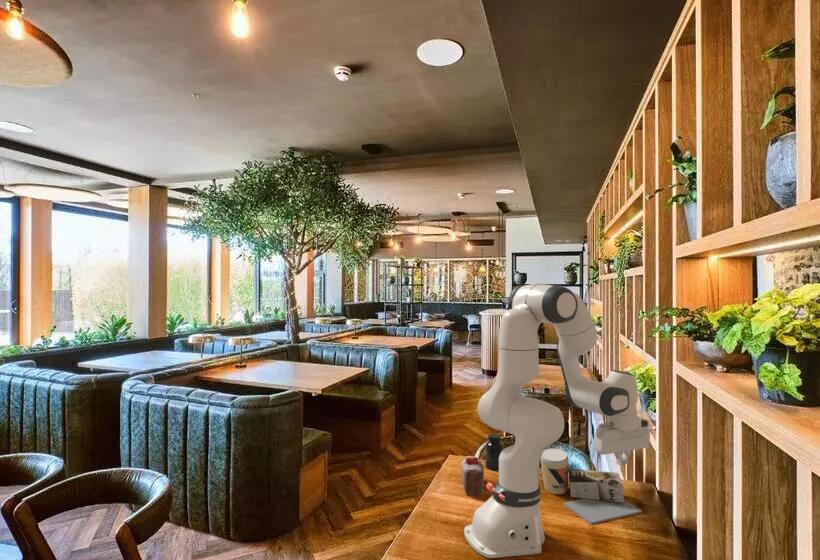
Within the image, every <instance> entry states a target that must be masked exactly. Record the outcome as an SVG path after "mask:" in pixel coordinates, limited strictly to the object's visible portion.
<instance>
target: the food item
mask: <svg viewBox="0 0 820 560" xmlns="http://www.w3.org/2000/svg"><path fill="white" fill-rule="evenodd" d="M460 472H461V481H462V485H463V488H464V492H465V494H466V495H469V496H470V495H471V496H473V495H474V496H475V495H477V496H482V495H483V494H484V486H485V485H484V483H485V482H484V481H485V480H484V479H485V478H484V476H485V475H484V474H485V469H484V463H483V461H481V459H480V458H479V457H476V456H473V455H466V456H462V459H461V471H460Z"/></svg>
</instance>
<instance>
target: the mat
mask: <svg viewBox="0 0 820 560" xmlns="http://www.w3.org/2000/svg"><path fill="white" fill-rule="evenodd" d="M562 505H563V506H565V507H566V508H567V509H568V510H570V511H571V512H572V513H574V514H575V515H577V516H578V517H580V518H581V519H582V520H584V521H585V522H587V523H588V524H589V525H595V524H599V523H603V522H604V523H605V522H608V521H613V520H616V519H621V518H624V517H628V516H633V515H636V514H637V515H638V514H642V513H643V510H642V509H640V508H638V507H637V506H635V505H633V504H632V503H630V502H628V501H627V500H625V499H624V502H623V503H622V502H614V501H605V500H595V499H586V498H578V499H575V500H570V501H564V502H562Z"/></svg>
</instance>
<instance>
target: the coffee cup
mask: <svg viewBox="0 0 820 560" xmlns="http://www.w3.org/2000/svg"><path fill="white" fill-rule="evenodd" d="M540 465H541V473H542V479H543V480H542V481H543V486H544V489H545V490H546V491H547V492H549V493H550V494H554V495H563V494H566V492H568V489H569V455H568V454H567V452H566V451H565V450H563V449H559V448H546V449H545V450H544V451H543V453H542V456H541V459H540Z"/></svg>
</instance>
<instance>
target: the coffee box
mask: <svg viewBox="0 0 820 560" xmlns="http://www.w3.org/2000/svg"><path fill="white" fill-rule="evenodd" d="M568 486H569V492H570V498H577V499H584V498H586V499H595V500H605V501H614V502H622V503H623V502H624V500H625V499H624V484H623V481H622V478H621V475H620V473H619V472H614V471H603V470H602V471H600V470H589V469H588V470H587V469H578V468H568Z"/></svg>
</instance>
